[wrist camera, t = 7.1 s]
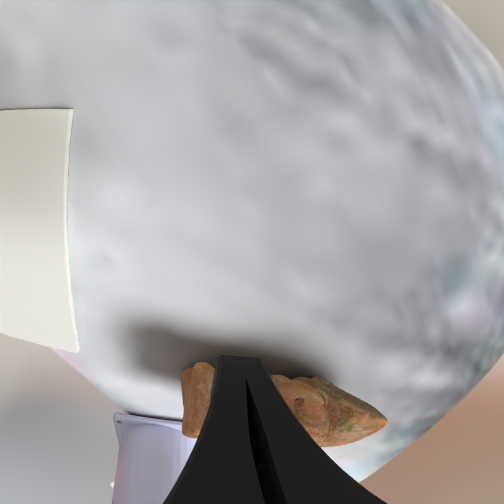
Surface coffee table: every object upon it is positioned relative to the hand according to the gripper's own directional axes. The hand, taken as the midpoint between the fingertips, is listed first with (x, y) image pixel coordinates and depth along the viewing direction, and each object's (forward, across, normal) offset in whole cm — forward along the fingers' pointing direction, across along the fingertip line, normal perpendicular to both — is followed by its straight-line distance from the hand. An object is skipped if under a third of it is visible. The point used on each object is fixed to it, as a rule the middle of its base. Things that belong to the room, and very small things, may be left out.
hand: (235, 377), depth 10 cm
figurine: (+3, +1, +9) cm, 9 cm away
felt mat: (+9, +16, +1) cm, 19 cm away
